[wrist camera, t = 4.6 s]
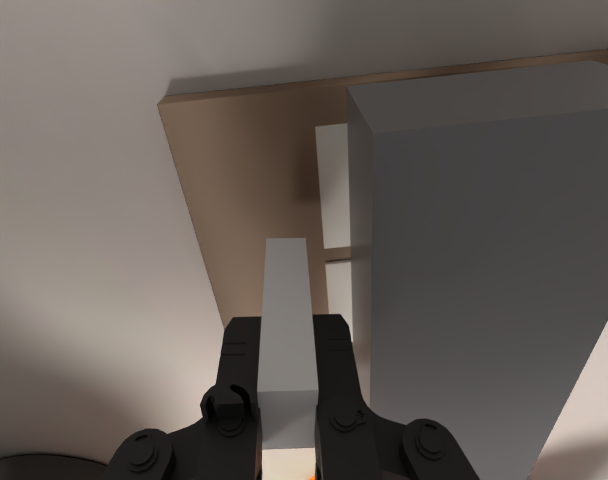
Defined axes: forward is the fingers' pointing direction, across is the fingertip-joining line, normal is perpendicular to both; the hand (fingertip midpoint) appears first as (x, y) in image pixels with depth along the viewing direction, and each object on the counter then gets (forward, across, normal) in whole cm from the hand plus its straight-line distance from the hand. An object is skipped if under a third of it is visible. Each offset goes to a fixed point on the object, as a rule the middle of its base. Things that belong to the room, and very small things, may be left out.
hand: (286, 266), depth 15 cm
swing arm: (+1, +7, -6) cm, 9 cm away
